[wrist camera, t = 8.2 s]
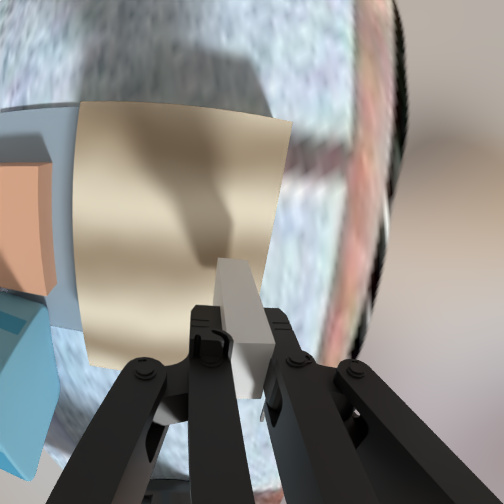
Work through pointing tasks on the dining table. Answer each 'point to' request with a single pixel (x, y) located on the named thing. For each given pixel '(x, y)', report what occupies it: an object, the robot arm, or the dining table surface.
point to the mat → (62, 155)
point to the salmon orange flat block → (26, 227)
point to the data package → (25, 383)
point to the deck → (166, 218)
